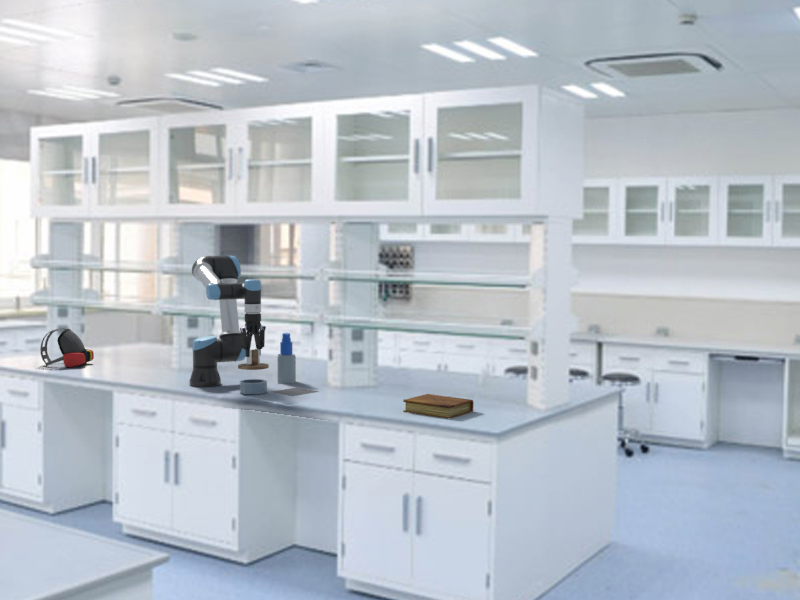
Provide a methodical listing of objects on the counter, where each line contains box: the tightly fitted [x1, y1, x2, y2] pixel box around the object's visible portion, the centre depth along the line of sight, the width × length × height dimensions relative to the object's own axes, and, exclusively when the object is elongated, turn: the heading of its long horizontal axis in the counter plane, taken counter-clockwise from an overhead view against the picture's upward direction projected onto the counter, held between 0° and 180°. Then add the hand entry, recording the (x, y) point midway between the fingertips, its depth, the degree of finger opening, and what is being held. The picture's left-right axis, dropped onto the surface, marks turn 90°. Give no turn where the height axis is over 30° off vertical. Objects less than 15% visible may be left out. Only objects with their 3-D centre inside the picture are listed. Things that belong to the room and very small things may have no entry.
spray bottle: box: [277, 332, 297, 385], centre depth 451 cm, size 9×9×25 cm
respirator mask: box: [39, 328, 95, 368], centre depth 508 cm, size 22×24×25 cm
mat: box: [271, 387, 320, 397], centre depth 425 cm, size 16×16×1 cm
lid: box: [237, 349, 270, 371], centre depth 421 cm, size 14×14×8 cm
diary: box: [402, 393, 474, 419], centre depth 383 cm, size 23×19×6 cm
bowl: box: [239, 378, 268, 397], centre depth 422 cm, size 12×12×6 cm
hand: (253, 363), depth 421 cm, fingers closed on lid, 4 cm apart
